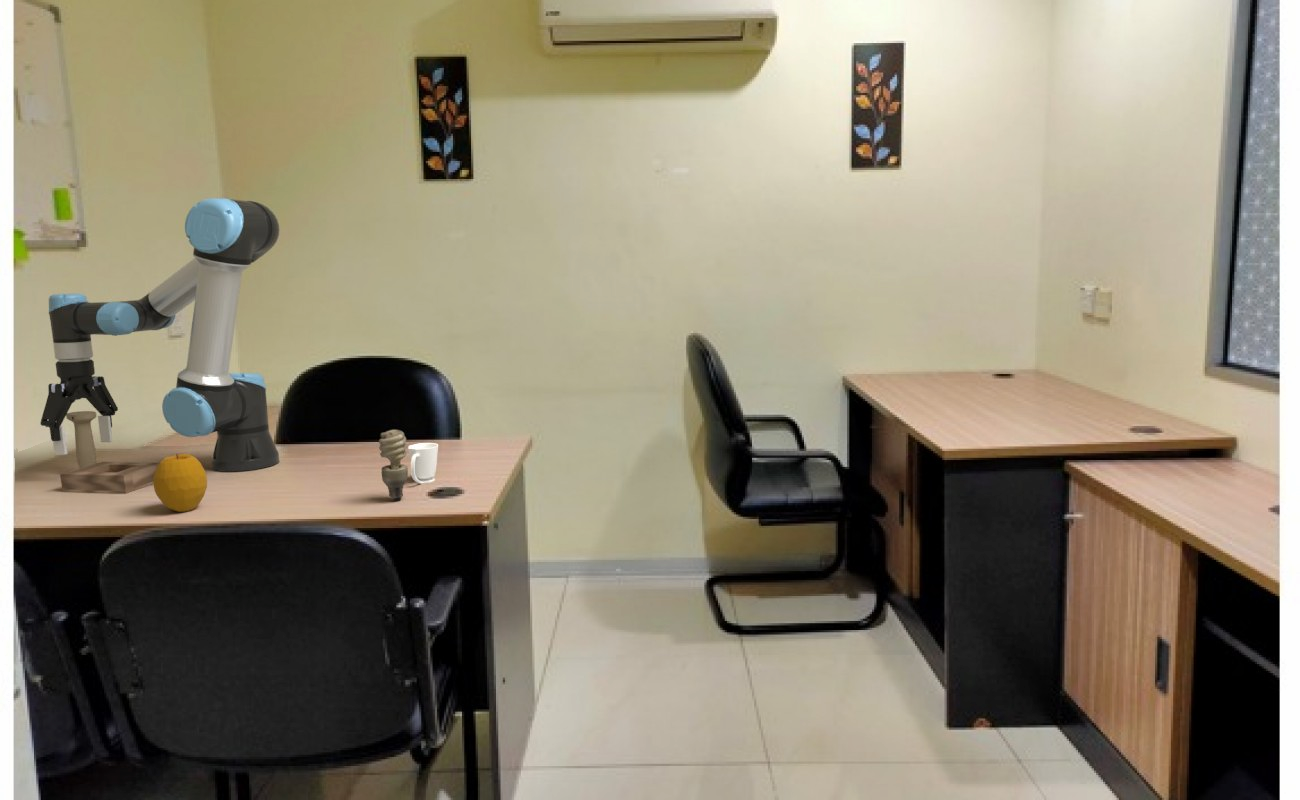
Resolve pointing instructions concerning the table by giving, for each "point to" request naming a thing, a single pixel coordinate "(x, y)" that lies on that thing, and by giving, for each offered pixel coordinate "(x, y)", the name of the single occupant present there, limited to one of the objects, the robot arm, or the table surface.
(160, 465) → the apple
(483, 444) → the table surface
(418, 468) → the cup
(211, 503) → the table surface
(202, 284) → the robot arm
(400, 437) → the light bulb
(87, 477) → the slot block
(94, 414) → the handle
